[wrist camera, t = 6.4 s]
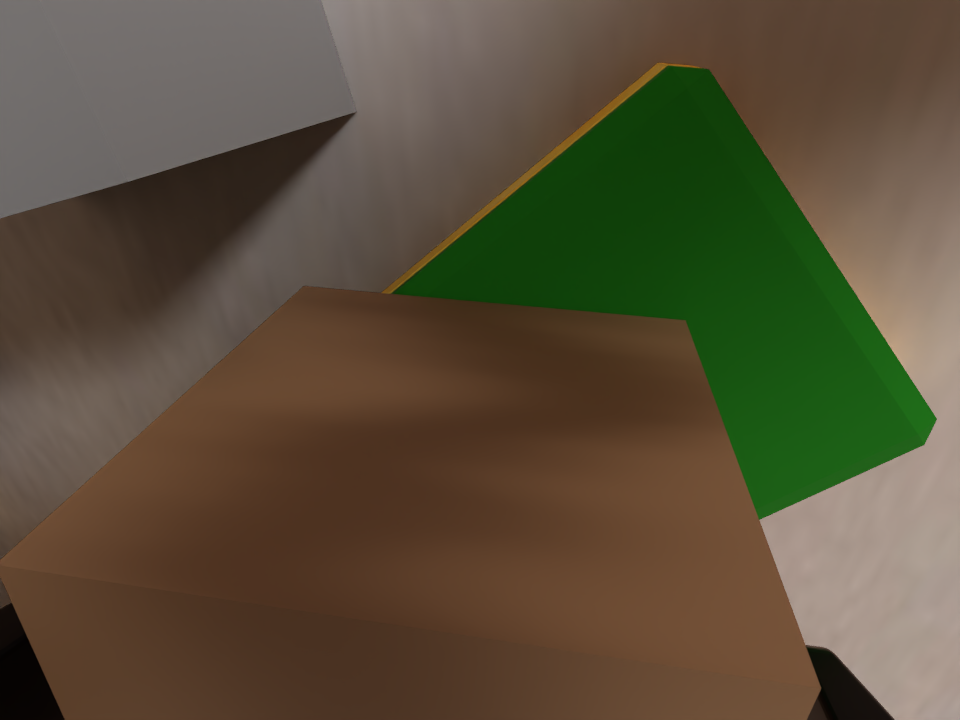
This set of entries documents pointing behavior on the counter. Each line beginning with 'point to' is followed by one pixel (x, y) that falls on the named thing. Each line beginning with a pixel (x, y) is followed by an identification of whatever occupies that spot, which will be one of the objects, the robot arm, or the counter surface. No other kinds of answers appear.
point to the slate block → (152, 87)
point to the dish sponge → (698, 279)
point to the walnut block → (421, 532)
